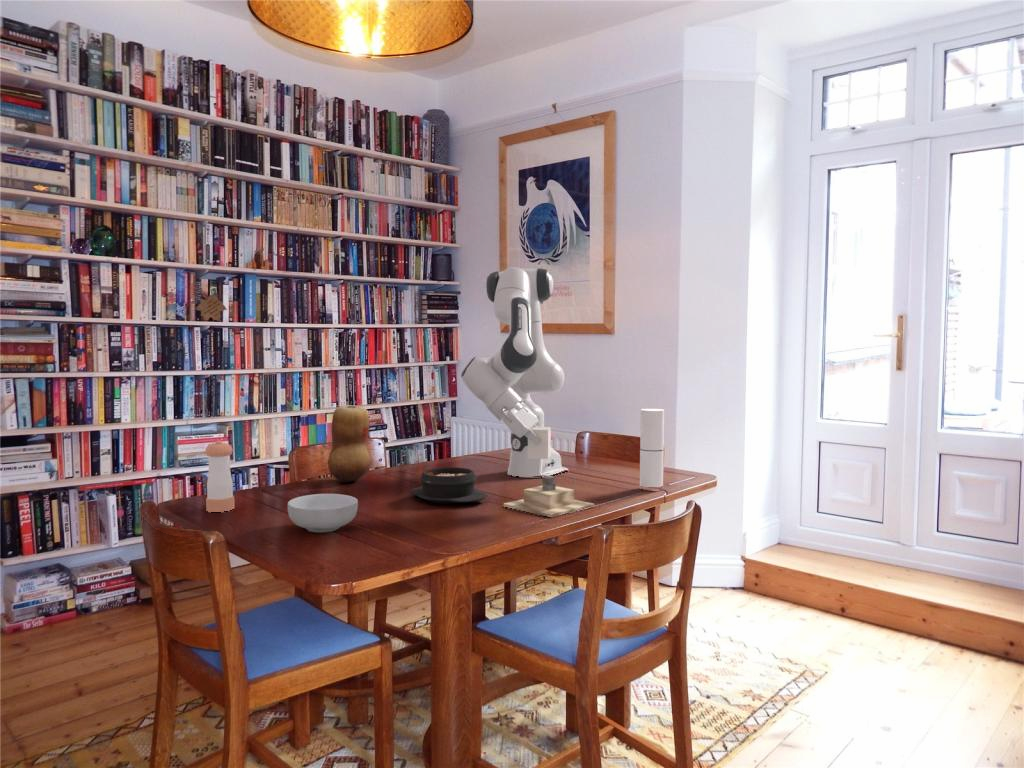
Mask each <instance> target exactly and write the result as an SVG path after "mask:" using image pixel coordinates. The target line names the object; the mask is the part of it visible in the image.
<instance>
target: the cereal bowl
mask: <svg viewBox="0 0 1024 768" xmlns="http://www.w3.org/2000/svg"><path fill="white" fill-rule="evenodd" d="M358 507H359V501H358V498H356V497H354V496H351V495H347V494H340V493H316V494H307V495H301V496H298V497H295V498H294V497H293V498H292V499H289V501H288V502H287V513H288V516H289V517H288V518H289V519H290V521H291V522H293V523H294V524H295V525H296V526H297V527H300V528H304V529H306V530H307V531H308V532H311V533H329V532H334V531H336V530H339V529H340V528H341V527H343V526H346V525H348V524H349V523H351V522H352V521H353V520H354V518H355V517H356V516H357V513H358Z"/></svg>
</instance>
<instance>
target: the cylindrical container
mask: <svg viewBox="0 0 1024 768" xmlns="http://www.w3.org/2000/svg"><path fill="white" fill-rule="evenodd" d="M664 430H665V409H661V408H641V409H640V431H639V433H640V435H639V436H640V439H639V440H640V442H639V445H640V449H639V452H640V453H639V487H640V486H643V487H661V486H663V487H664V445H665V443H664V442H665V441H664V439H665V438H664V437H665V436H664V434H665V431H664Z"/></svg>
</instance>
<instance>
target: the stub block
mask: <svg viewBox="0 0 1024 768" xmlns="http://www.w3.org/2000/svg"><path fill="white" fill-rule="evenodd" d="M541 479H542V480H541V481H542V482H541V483H542V485H538V486H534V487H530V488H525V489H523V498H522V499H518V500H513V501H509V502H503V505H502V507H503V506H504V507H503V508H505V507H508V508H507V509H510V508H512V509H511V510H514V509H517V510H516V511H518V510H521V511H520V512H522V511H526V512H530V513H534V514H533V515H535V514H538V515H537V516H539V515H543V516H547V517H555V516H558V515H562V514H565V513H569V512H573V511H576V510H579V509H582V508H586V507H589V506H594V507H595V503H592V502H587V501H583V500H578V499H575V489H573V488H568V487H562V486H557V485H556V481H557V480H556V476H546V477H542V478H541ZM526 512H525V513H526ZM530 513H529V514H530ZM543 516H542V517H543ZM547 517H546V518H547ZM555 518H556V517H555Z"/></svg>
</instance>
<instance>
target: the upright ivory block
mask: <svg viewBox="0 0 1024 768" xmlns="http://www.w3.org/2000/svg"><path fill="white" fill-rule="evenodd" d="M531 430H532V431H533V433H534V434H535V435H536V436H537V437H539V438H540V439H541V440H542V441H541V443H540V444H539V445H536V444H535V443H534V442H533V441H531V440H530V439H528V458H530V459H548V458H549V457H550V456H551V447H552V444H551V443H552V441H551V434H552V427H549V426H544V427H532V428H531Z"/></svg>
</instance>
